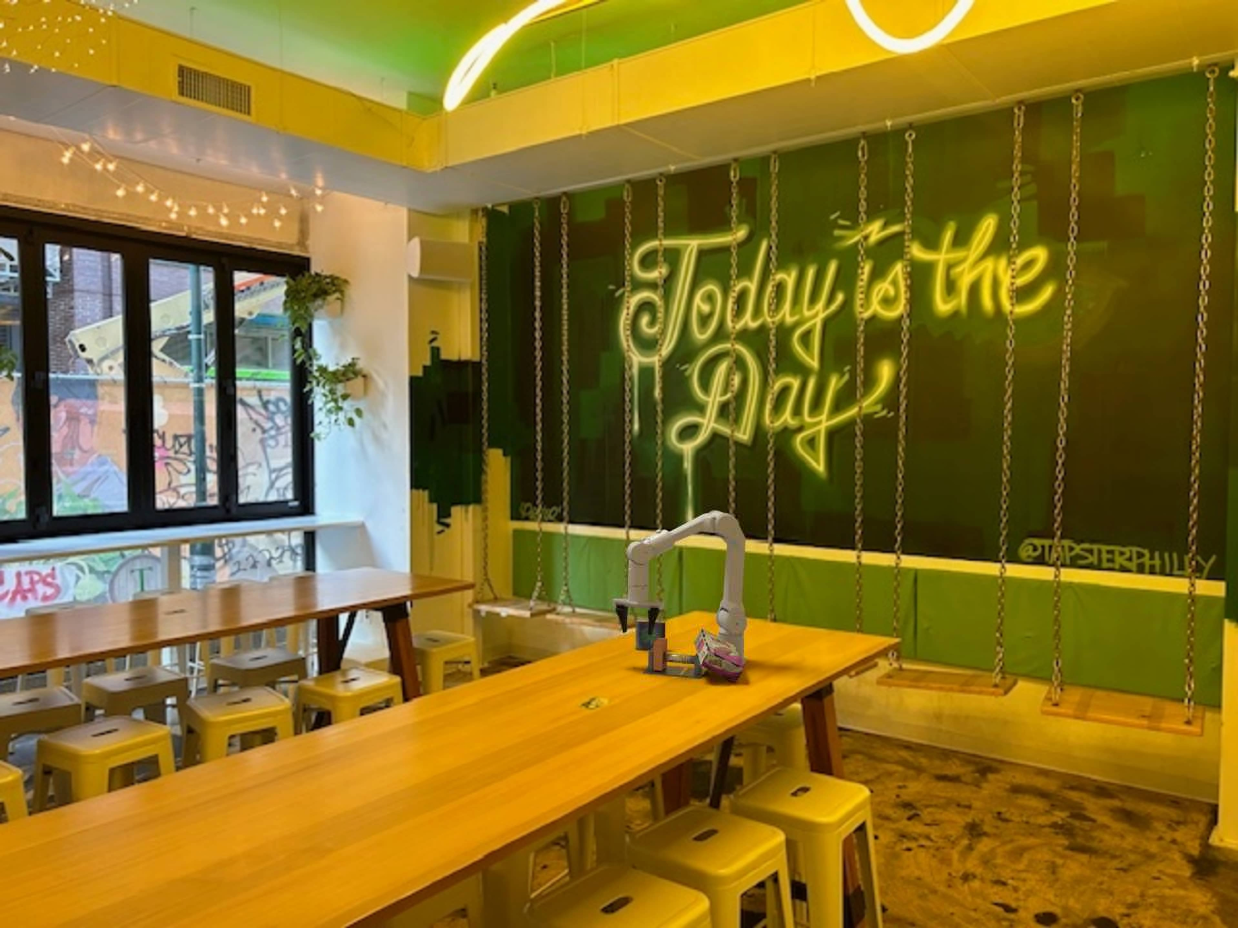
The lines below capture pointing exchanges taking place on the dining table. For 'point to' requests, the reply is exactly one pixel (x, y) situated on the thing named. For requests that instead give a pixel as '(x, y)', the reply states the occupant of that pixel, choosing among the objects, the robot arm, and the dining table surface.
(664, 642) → the orange block
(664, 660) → the pipe rig
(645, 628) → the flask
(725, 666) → the candy bar box
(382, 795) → the dining table surface
